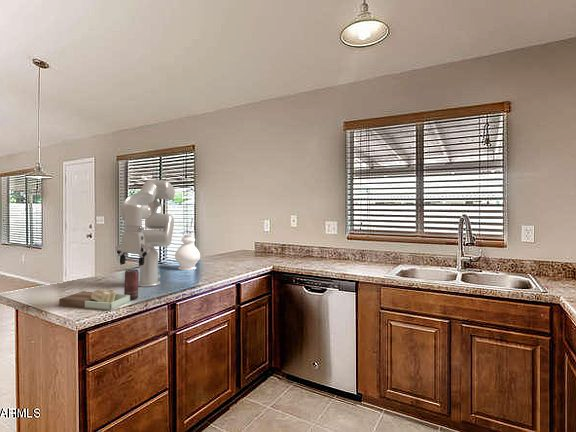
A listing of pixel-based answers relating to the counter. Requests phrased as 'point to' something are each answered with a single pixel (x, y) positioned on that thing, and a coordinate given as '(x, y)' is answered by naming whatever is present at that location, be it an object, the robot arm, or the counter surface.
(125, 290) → the can
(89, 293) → the board
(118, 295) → the tray
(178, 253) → the decorative vase
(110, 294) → the tile
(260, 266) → the counter surface
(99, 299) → the tile
